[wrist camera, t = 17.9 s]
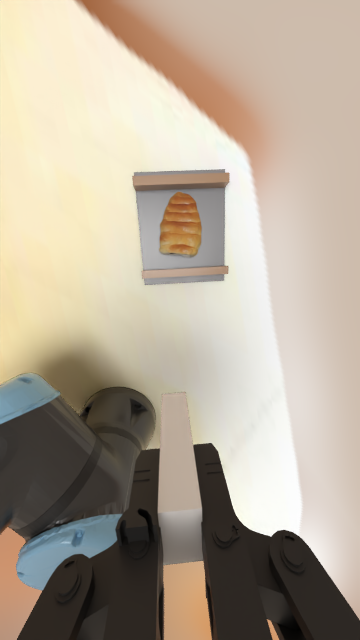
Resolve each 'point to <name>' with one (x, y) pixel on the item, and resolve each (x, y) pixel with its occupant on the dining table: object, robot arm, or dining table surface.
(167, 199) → the pastry holder
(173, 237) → the pastry
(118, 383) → the dining table surface
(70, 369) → the dining table surface
